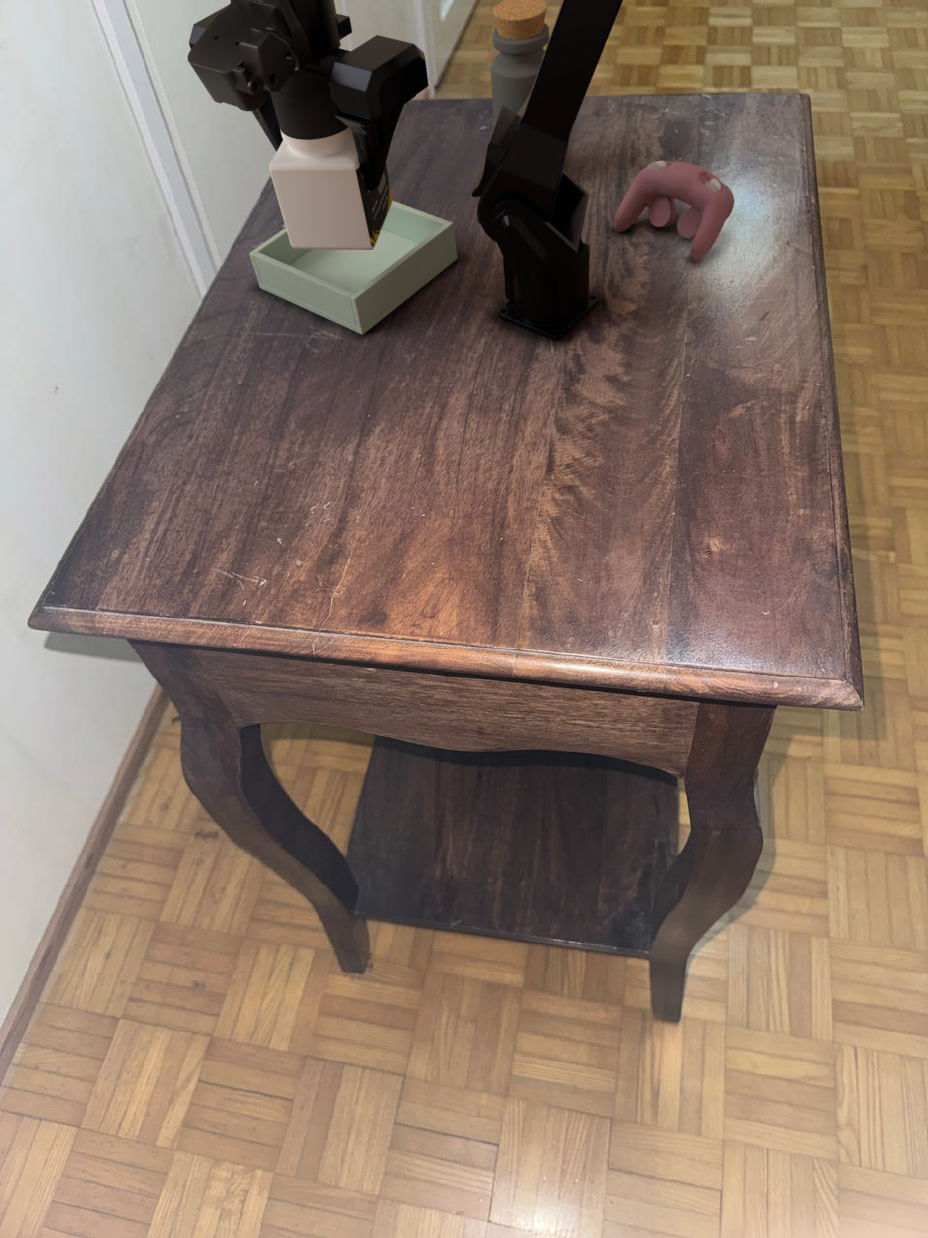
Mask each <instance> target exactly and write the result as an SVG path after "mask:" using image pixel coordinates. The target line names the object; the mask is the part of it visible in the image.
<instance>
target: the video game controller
mask: <svg viewBox="0 0 928 1238" xmlns="http://www.w3.org/2000/svg"><path fill="white" fill-rule="evenodd" d="M675 200H678V201H680V202H683V203H685V204H687V205H689V206H690V207H689V208H687V209H686V210H684V211H683V213H681V215H680V216H679V217H678V220H677V222H676V223H677V224H676V229H677V232H678V233H679V235H680V236H681V237H683V238H685V239H689V240H690V239H692V241H691V244H690V248H689V259H690V261H692V262H693V263H697V262H700V261H701V260H702V259H704V257H706V256H707V255H708V253H709V252H710V251H711V249H712V248H713V246H714V245H715V243H716V242H717V240H718V238H719V236H720V234H721V231H722V229H723V228H724V225H725V222H726V221H727V220H728V218H729V217H730V216H731V214H732V212H733V210H734V206H735V196H734V193H733V192H732V189H731V188H730V187H729V186H728V185H727V184H725V183H723V182H722V181H721V180H720V179H719V177H717V176H716V175H715V174H714V173H712V172H711V171H709V170H707V169H705V168H703V167H701V166H700V165H697V164H695V163H690V162H685V161H678V160H658V161H657V160H656V161H654V162H652V161H651V162H650V163H649V164H648V165H647V166H646V167H644V168H643V169H641V171H639V173H638V174H637V175H636V177H635V178H634V180H633V182H632V184H631V185H630V187H629V188H628V190H627V192H626V194H625V195H624V197H623V198H622V200H621V202H620V204H619V205H618V208H617V209H616V212H615V215H614V220H613V227H614V231H616V232H617V233H622V232H624V231H626V230H628V229H629V228H630V227H631V226H632V224H634V223H635V222H636V221H637V219H638V218H639V217H640V215H641V214H642V213H643V211H644V210H645V209H646V207H647V209H648V219H649V222H650V224H651V225H652V226H654V227H657V228H666V227H669V226H671V225H672V224H673V223H674V221H675V219H676V217H677V207H676V206H677V205H676V203H675Z"/></svg>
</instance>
